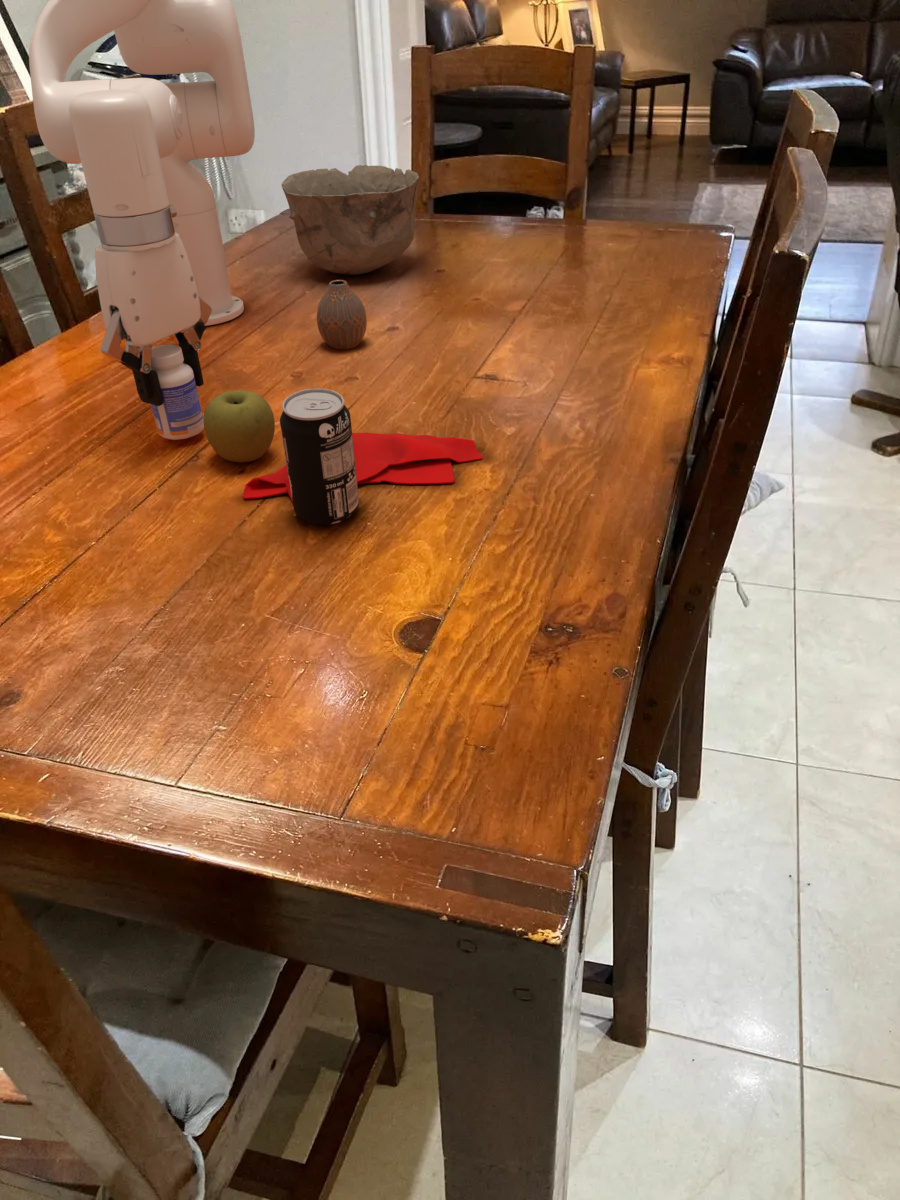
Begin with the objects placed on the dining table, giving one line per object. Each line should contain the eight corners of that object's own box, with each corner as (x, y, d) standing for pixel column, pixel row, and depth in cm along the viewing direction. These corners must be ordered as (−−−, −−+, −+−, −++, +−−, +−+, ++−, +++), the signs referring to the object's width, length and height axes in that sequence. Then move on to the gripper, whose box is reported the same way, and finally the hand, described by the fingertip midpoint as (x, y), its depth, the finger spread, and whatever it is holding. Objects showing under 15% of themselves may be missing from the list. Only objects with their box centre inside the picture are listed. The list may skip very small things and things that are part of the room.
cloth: (470, 426, 109) (470, 408, 108) (492, 482, 98) (492, 462, 97) (245, 449, 107) (242, 430, 105) (242, 508, 96) (238, 489, 94)
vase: (361, 354, 129) (355, 290, 124) (313, 352, 130) (305, 289, 125) (374, 336, 135) (368, 275, 130) (328, 335, 136) (321, 274, 131)
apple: (222, 479, 101) (210, 418, 97) (202, 451, 107) (190, 392, 102) (289, 462, 103) (279, 402, 99) (266, 435, 109) (256, 377, 105)
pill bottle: (213, 423, 110) (198, 343, 105) (189, 443, 106) (171, 361, 101) (174, 418, 112) (156, 339, 106) (148, 438, 108) (128, 356, 102)
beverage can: (295, 493, 97) (279, 388, 89) (359, 489, 97) (348, 384, 89) (292, 530, 92) (275, 422, 84) (360, 526, 92) (348, 417, 84)
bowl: (445, 262, 164) (442, 169, 155) (372, 298, 149) (363, 198, 140) (346, 247, 173) (337, 159, 165) (268, 280, 159) (254, 185, 150)
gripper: (172, 205, 103) (203, 362, 114) (42, 243, 92) (90, 414, 102) (221, 212, 100) (249, 373, 110) (93, 253, 88) (137, 429, 99)
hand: (172, 391), depth 106 cm, fingers closed on pill bottle, 5 cm apart
